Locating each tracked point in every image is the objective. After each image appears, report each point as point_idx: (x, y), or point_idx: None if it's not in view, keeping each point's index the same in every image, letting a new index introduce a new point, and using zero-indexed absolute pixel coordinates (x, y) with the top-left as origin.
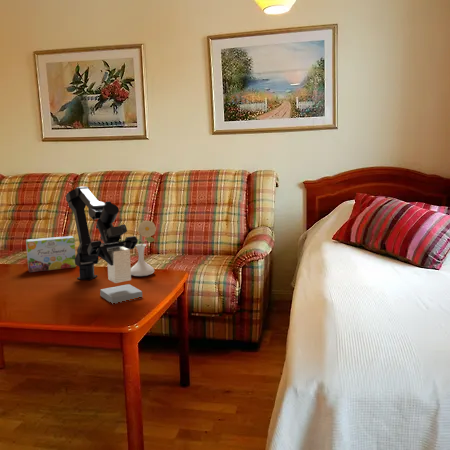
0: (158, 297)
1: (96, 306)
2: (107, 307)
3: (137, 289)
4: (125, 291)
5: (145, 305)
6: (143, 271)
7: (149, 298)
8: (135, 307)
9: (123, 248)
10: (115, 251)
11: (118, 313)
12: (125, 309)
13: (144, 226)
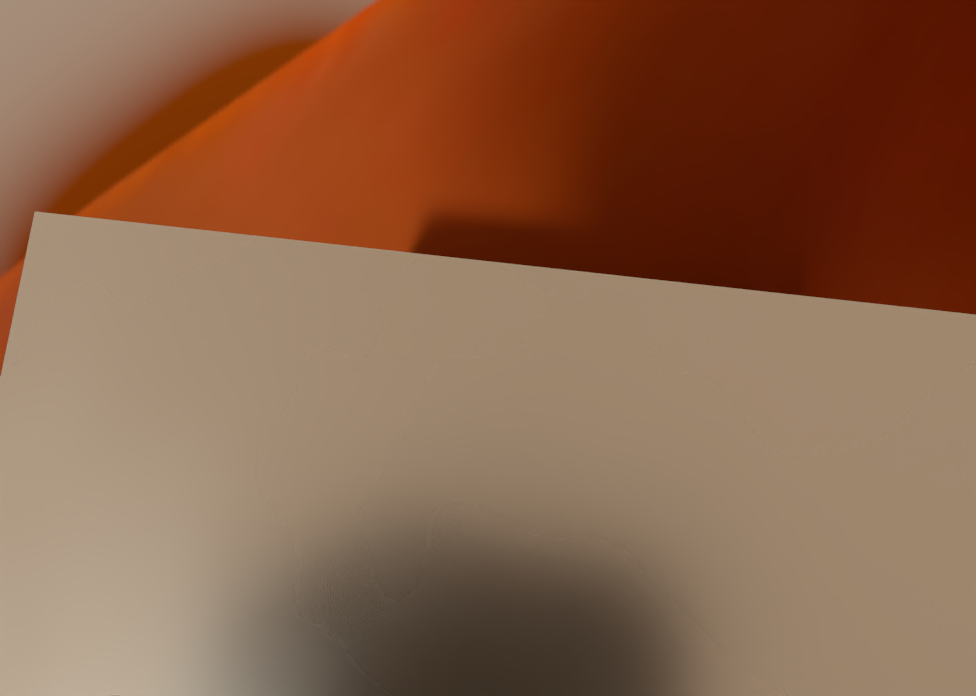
0: (280, 158)
1: None
2: (875, 273)
3: None
4: None
5: (531, 38)
6: None
7: (364, 199)
8: (643, 56)
9: (123, 672)
10: (934, 315)
11: (883, 18)
12: (758, 75)
13: None
